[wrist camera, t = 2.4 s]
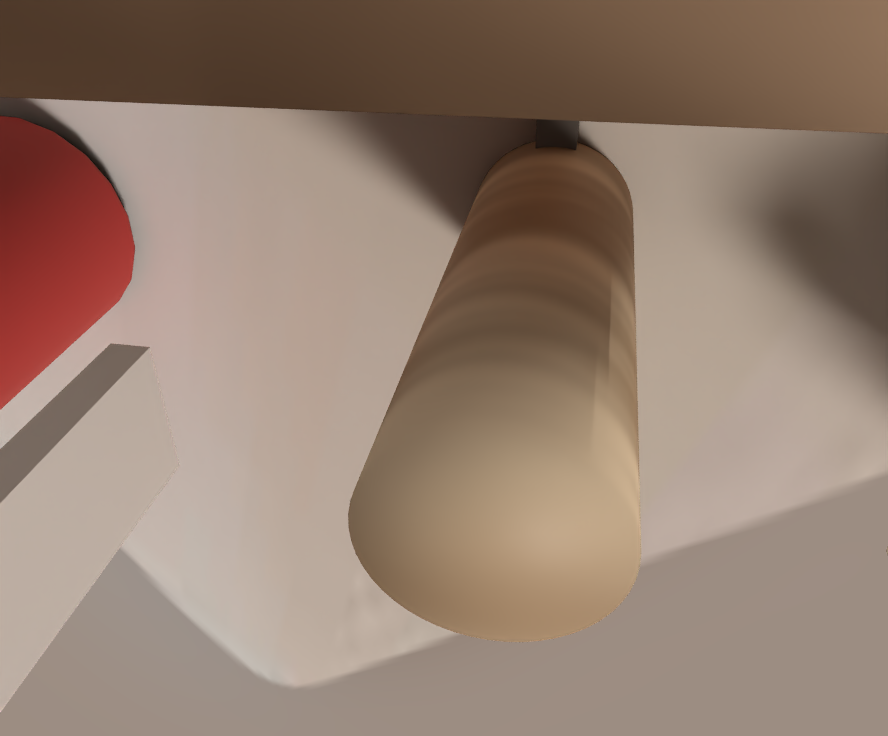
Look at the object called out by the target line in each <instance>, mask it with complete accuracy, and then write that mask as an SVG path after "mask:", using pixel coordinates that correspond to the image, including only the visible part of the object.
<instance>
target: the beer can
mask: <svg viewBox="0 0 888 736" xmlns="http://www.w3.org/2000/svg"><path fill="white" fill-rule="evenodd" d="M134 253H135V245H134V240H133V236H132V231H131V227H130V222H129V218H128V215H127V213H126V211H125V209H124V208H123V206H122V204H121V202H120V200H119V198H118V196H117V194H116V192H115V190H114V189H113V187H112V185H111V183H110V182H109V181H108V180H107V179H106V177H105V176H104V175H103V174H102V173H101V172H100V171H99V169H98V168H97V167H96V166H95V165H94V164H93V163H92V161H91V160H90V159H89V158H88V157H87V156H86V155H85V154H84V153H82V152H81V151H80V150H78V149H77V148H75V147H74V146H73V145H71V144H70V143H69V142H67V141H66V140H64V139H63V138H62V137H60V136H59V135H58V134H56V133H55V132H53V131H50V130H48V129H45V128H43V127H40V126H38V125H36V124H33V123H31V122H28V121H26V120H23V119H21V118H16V117H5V116H0V409H2V408H3V407H4V406H5V405H6V404H7V403H8V402H9V401H10V400H11V399H12V398H14V397H15V396H16V395H17V394H18V393H19V392H20V391H21V390H22V389H23V388H24V387H26V386H27V385H28V384H29V383H30V382H31V381H32V380H33V379H34V378H35V377H37V376H38V375H39V374H40V373H41V372H42V371H43V370H44V369H45V368H46V367H47V366H49V365H50V364H51V363H52V362H53V361H54V360H55V359H56V358H57V357H58V356H59V355H61V354H62V353H63V352H64V351H65V350H66V349H67V348H68V347H69V346H70V345H71V344H73V343H74V342H75V341H76V340H77V339H78V338H79V337H80V336H81V335H82V334H83V333H85V332H86V331H87V330H88V329H89V328H90V327H91V326H92V325H93V324H94V323H95V322H97V321H98V320H99V319H100V318H101V317H102V316H103V315H104V314H105V313H106V312H107V311H109V310H110V309H111V308H112V307H113V306H114V305H115V304H116V303H117V302H118V301H119V300H120V298H121V297H122V295H123V293H124V291H125V290H126V288H127V286H128V284H129V283H130V281H131V278H132V271H133V262H134Z"/></svg>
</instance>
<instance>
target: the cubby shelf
mask: <svg viewBox="0 0 888 736" xmlns="http://www.w3.org/2000/svg"><path fill="white" fill-rule="evenodd" d="M0 97H11V98H35V99H59V100H84V101H108V102H132V103H157V104H181V105H205V106H230V107H254V108H278V109H303V110H327V111H351V112H376V113H400V114H424V115H449V116H473V117H498V118H522V119H546V120H571V121H595V122H619V123H644V124H668V125H692V126H717V127H741V128H765V129H790V130H814V131H838V132H863V133H887V134H888V0H0Z"/></svg>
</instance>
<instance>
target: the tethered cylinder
mask: <svg viewBox="0 0 888 736" xmlns="http://www.w3.org/2000/svg"><path fill="white" fill-rule="evenodd" d="M578 129H579V121H571V120H546V119H537V129H536V141H535V142H532V143H528V144H525V145H523V146H520V147H518V148H516V149H514V150H512V151H511V152H509V153H507V154H506V155H505V156H503V157H502V158H501V159H500V160H498V162H497V163H496V164H495V165H494V166H493V167H492V168H491V169H490V171H489V172H488V173H487V175H486V176H485V178H484V180H483V182H482V184H481V186H480V188H479V191H478V193H477V195H476V198H475V200H474V203H473V205H472V207H471V210H470V212H469V215H468V217H467V220H466V222H465V224H464V227H463V229H462V232H461V234H460V236H459V239H458V241H457V244H456V246H455V248H454V251H453V253H452V256H451V258H450V260H449V263H448V265H447V268H446V270H445V273H444V275H443V277H442V280H441V282H440V285H439V287H438V289H437V292H436V294H435V297H434V299H433V301H432V304H431V306H430V309H429V311H428V313H427V316H426V318H425V321H424V323H423V326H422V328H421V330H420V333H419V335H418V338H417V340H416V342H415V345H414V347H413V350H412V352H411V354H410V357H409V359H408V362H407V364H406V366H405V369H404V371H403V374H402V376H401V378H400V381H399V383H398V386H397V388H396V391H395V393H394V395H393V398H392V400H391V403H390V405H389V407H388V410H387V412H386V415H385V417H384V419H383V422H382V424H381V427H380V429H379V431H378V434H377V436H376V439H375V441H374V444H373V446H372V448H371V451H370V453H369V456H368V458H367V460H366V463H365V465H364V468H363V470H362V472H361V475H360V477H359V480H358V482H357V484H356V487H355V489H354V492H353V495H352V498H351V501H350V507H349V513H348V521H349V532H350V537H351V541H352V544H353V547H354V549H355V552H356V555H357V556H358V558H359V560H360V562H361V564H362V566H363V567H364V569H365V570H366V571H367V573H368V574H369V576H370V577H371V578H372V579H373V581H374V582H375V583H376V584H377V585H378V586H379V587H380V588H381V589H382V590H383V591H384V592H385V593H386V594H387V595H388V596H390V597H391V598H392V599H393V600H394V601H396V602H397V603H398V604H400V605H401V606H403V607H404V608H405V609H407V610H408V611H410V612H412V613H413V614H415V615H417V616H419V617H420V618H422V619H424V620H426V621H428V622H431V623H433V624H435V625H437V626H440V627H442V628H445V629H448V630H450V631H453V632H456V633H460V634H464V635H467V636H471V637H476V638H481V639H487V640H495V641H504V642H527V641H528V642H529V641H541V640H547V639H553V638H558V637H561V636H565V635H569V634H572V633H575V632H578V631H580V630H583V629H585V628H587V627H589V626H591V625H593V624H595V623H597V622H599V621H600V620H602V619H603V618H604V617H606V616H607V615H609V614H610V613H611V612H612V611H613V610H615V609H616V608H617V607H618V606H619V605H620V604H621V603H622V601H623V600H624V599H625V597H626V596H627V595H628V593H629V592H630V590H631V588H632V586H633V584H634V582H635V580H636V578H637V574H638V570H639V567H640V559H641V527H640V485H639V443H638V401H637V359H636V317H635V275H634V233H633V207H632V200H631V195H630V192H629V189H628V187H627V184H626V182H625V180H624V179H623V177H622V175H621V174H620V172H619V171H618V170H617V168H616V167H615V166H614V165H613V164H612V163H611V162H610V161H609V160H608V159H607V158H606V157H604V156H603V155H602V154H600V153H599V152H597V151H595V150H593V149H592V148H590V147H587V146H585V145H582V144H580V143H577V141H578Z"/></svg>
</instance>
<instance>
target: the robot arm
mask: <svg viewBox="0 0 888 736" xmlns="http://www.w3.org/2000/svg"><path fill="white" fill-rule="evenodd" d="M178 467H179V461H178V457H177V453H176V449H175V445H174V441H173V437H172V433H171V429H170V425H169V421H168V417H167V413H166V409H165V405H164V402H163V398H162V394H161V390H160V386H159V382H158V378H157V374H156V370H155V366H154V362H153V358H152V354H151V350H150V347H142V346H131V345H121V344H110V345H109V346H108V347H107V348H106V349H105V350H104V351H103V352H102V353H101V354H99V355H98V356H97V357H96V358H95V359H94V360H93V361H92V362H91V363H90V364H89V365H88V366H87V367H86V368H85V369H84V370H83V371H82V372H81V373H80V374H79V375H78V376H76V377H75V378H74V379H73V380H72V381H71V382H70V383H69V384H68V385H67V386H66V387H65V388H64V389H63V390H62V391H61V392H60V393H59V394H58V395H57V396H56V397H55V398H53V399H52V400H51V401H50V402H49V403H48V404H47V405H46V406H45V407H44V408H43V409H42V410H41V411H40V412H39V413H38V414H37V415H36V416H35V417H34V418H33V419H32V420H30V421H29V422H28V423H27V424H26V425H25V426H24V427H23V428H22V429H21V430H20V431H19V432H18V433H17V434H16V435H15V436H14V437H13V438H12V439H11V440H10V441H9V442H7V443H6V444H5V445H4V446H3V447H2V448H1V449H0V712H1V711H2V709H3V708H4V707H5V705H6V704H7V702H8V701H9V700H10V698H11V697H12V696H13V694H14V693H15V691H16V690H17V689H18V687H19V686H20V685H21V683H22V682H23V680H24V679H25V678H26V676H27V675H28V673H29V672H30V671H31V669H32V668H33V666H34V665H35V664H36V662H37V661H38V660H39V658H40V657H41V656H42V654H43V653H44V651H45V650H46V649H47V647H48V646H49V645H50V643H51V642H52V640H53V639H54V638H55V636H56V635H57V634H58V632H59V631H60V629H61V628H62V627H63V625H64V624H65V622H66V621H67V620H68V618H69V617H70V616H71V614H72V613H73V611H74V610H75V609H76V607H77V606H78V605H79V603H80V602H81V600H82V599H83V598H84V596H85V595H86V593H87V592H88V591H89V589H90V588H91V587H92V585H93V584H94V582H95V581H96V580H97V578H98V577H99V575H100V574H101V573H102V571H103V570H104V569H105V567H106V566H107V564H108V563H109V562H110V560H111V559H112V557H113V556H114V555H115V553H116V552H117V551H118V549H119V548H120V547H121V545H122V544H123V542H124V541H125V540H126V538H127V537H128V536H129V534H130V533H131V531H132V530H133V529H134V527H135V526H136V525H137V523H138V522H139V520H140V519H141V518H142V516H143V515H144V513H145V512H146V511H147V509H148V508H149V507H150V505H151V504H152V502H153V501H154V500H155V498H156V497H157V496H158V494H159V493H160V491H161V490H162V489H163V487H164V486H165V485H166V483H167V482H168V480H169V479H170V478H171V476H172V475H173V473H174V472H175V471H176V469H177V468H178ZM886 552H887V554H888V547H887V550H886Z"/></svg>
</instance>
